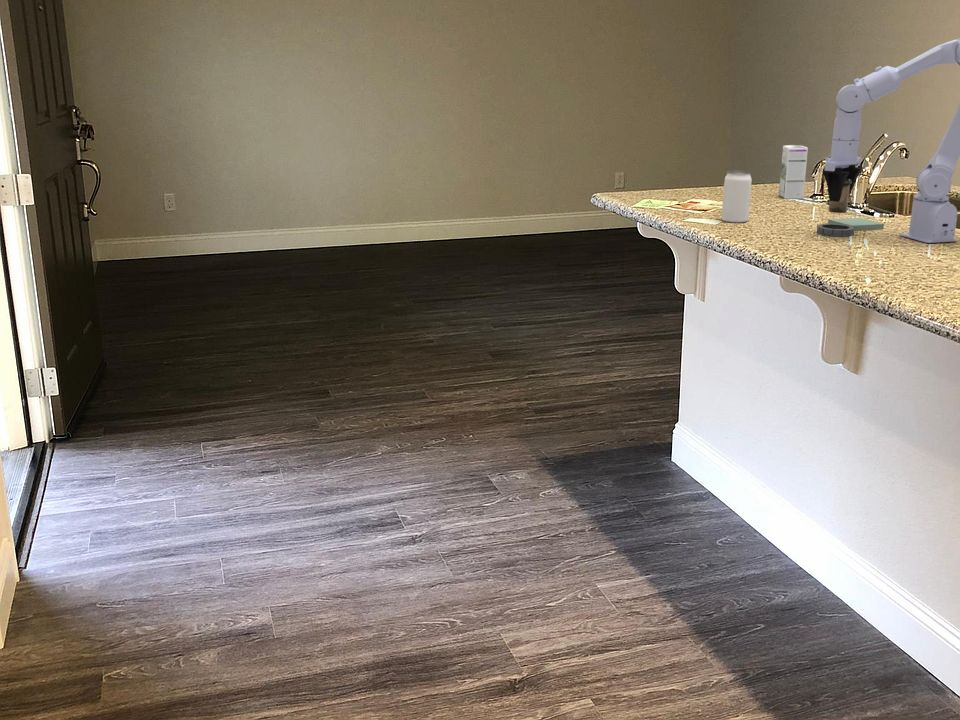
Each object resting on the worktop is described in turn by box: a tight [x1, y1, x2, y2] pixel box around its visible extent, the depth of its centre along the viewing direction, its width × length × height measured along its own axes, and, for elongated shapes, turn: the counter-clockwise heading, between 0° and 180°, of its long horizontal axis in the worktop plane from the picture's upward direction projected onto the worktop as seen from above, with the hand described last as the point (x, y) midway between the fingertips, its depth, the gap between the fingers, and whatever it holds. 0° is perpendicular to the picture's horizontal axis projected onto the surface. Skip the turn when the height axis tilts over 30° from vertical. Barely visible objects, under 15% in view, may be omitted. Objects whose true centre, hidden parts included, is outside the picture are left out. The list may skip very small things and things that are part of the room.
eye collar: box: [816, 223, 855, 238], centre depth 227 cm, size 8×8×2 cm
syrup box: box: [778, 144, 809, 200], centre depth 276 cm, size 6×6×14 cm
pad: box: [827, 217, 885, 232], centre depth 235 cm, size 9×9×1 cm
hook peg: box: [827, 179, 852, 214], centre depth 224 cm, size 5×5×8 cm
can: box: [721, 170, 753, 224], centre depth 241 cm, size 6×6×12 cm
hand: (839, 199), depth 225 cm, fingers closed on hook peg, 4 cm apart
